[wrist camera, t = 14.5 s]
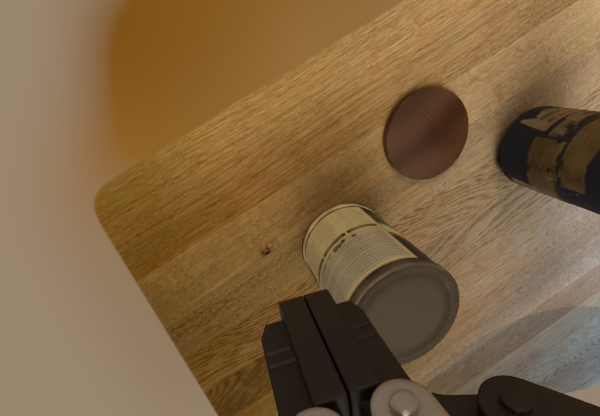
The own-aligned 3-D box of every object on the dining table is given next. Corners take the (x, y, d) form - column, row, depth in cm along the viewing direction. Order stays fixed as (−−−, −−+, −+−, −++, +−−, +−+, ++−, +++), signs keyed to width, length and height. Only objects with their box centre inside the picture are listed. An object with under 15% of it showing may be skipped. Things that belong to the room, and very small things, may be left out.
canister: (553, 89, 42) (772, 103, 26) (563, 158, 46) (758, 207, 30) (484, 129, 42) (665, 169, 26) (500, 195, 46) (665, 265, 30)
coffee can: (394, 208, 43) (478, 268, 30) (369, 283, 46) (435, 367, 33) (314, 195, 39) (369, 257, 27) (292, 277, 42) (333, 368, 30)
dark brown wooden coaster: (365, 141, 39) (368, 143, 38) (429, 66, 37) (433, 66, 37) (420, 194, 43) (424, 196, 42) (479, 127, 42) (484, 128, 41)
